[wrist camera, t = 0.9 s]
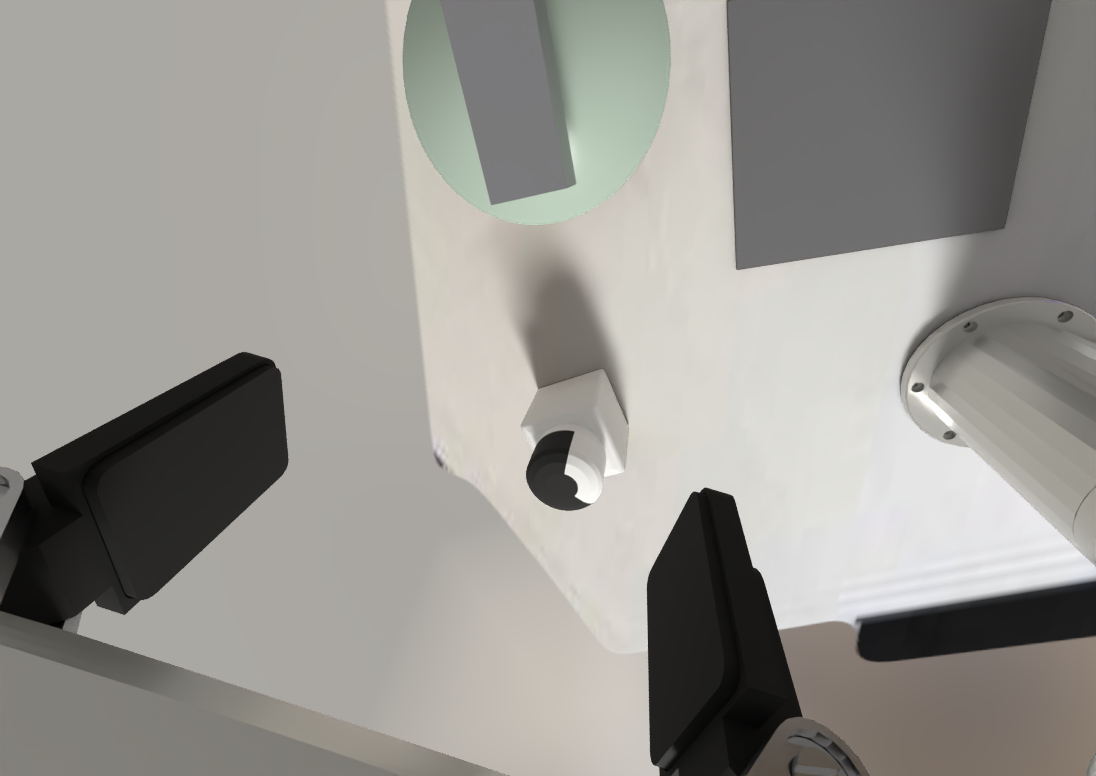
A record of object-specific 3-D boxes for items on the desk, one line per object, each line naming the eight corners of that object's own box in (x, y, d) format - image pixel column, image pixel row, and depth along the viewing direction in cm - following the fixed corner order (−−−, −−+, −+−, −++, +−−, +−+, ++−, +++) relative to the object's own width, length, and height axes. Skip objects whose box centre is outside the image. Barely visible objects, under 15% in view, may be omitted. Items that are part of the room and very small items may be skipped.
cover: (653, -149, 21) (652, -269, 15) (681, 195, 27) (688, 208, 21) (378, -35, 25) (290, -92, 19) (457, 241, 31) (410, 263, 25)
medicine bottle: (565, 445, 47) (539, 528, 37) (537, 388, 45) (501, 460, 35) (630, 428, 45) (622, 513, 34) (604, 366, 42) (587, 437, 32)
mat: (1066, -102, 24) (1073, -107, 24) (999, 227, 31) (1004, 228, 31) (726, 3, 29) (727, 1, 28) (736, 268, 36) (737, 269, 36)
